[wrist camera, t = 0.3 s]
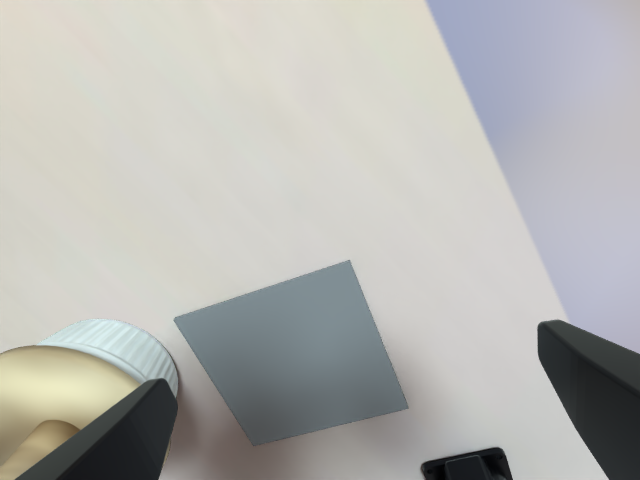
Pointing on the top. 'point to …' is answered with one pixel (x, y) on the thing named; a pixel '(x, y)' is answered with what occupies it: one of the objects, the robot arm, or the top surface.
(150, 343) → the ramekin
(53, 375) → the lid
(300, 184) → the top surface
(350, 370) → the mat
